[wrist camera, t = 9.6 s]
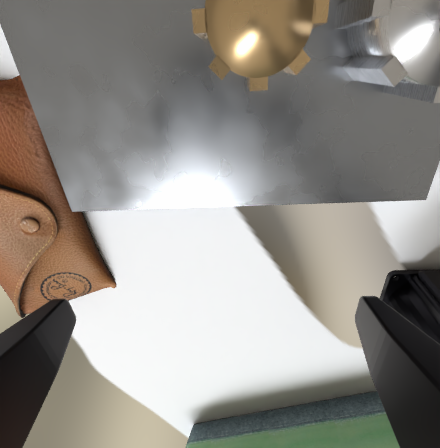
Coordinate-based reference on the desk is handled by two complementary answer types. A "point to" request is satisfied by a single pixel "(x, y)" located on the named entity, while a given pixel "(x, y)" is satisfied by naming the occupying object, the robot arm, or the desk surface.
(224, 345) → the desk surface
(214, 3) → the carrier
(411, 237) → the desk surface
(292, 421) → the planter
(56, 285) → the sunglasses case
